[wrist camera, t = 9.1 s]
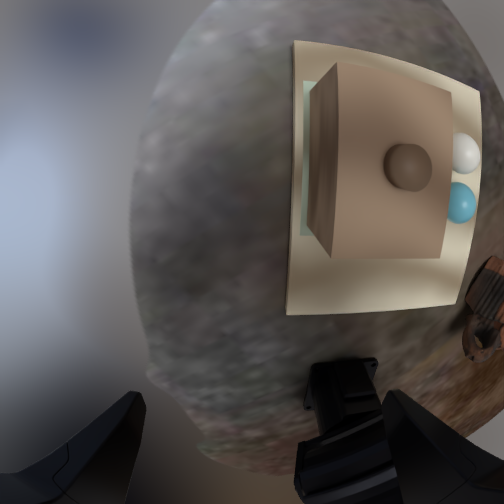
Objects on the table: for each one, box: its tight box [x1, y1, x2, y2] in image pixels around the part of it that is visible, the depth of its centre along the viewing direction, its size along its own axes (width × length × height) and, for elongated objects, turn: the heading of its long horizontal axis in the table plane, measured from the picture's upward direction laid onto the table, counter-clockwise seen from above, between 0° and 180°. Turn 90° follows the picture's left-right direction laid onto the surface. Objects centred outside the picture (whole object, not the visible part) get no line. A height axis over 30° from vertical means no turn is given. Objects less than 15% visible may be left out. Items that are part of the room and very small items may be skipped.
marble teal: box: [447, 182, 476, 224], centre depth 15 cm, size 3×3×3 cm
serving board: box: [285, 40, 482, 315], centre depth 17 cm, size 19×16×1 cm
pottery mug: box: [462, 256, 504, 363], centre depth 19 cm, size 12×9×8 cm
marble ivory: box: [452, 133, 480, 174], centre depth 14 cm, size 3×3×3 cm
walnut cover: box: [307, 62, 453, 259], centre depth 13 cm, size 9×6×7 cm
